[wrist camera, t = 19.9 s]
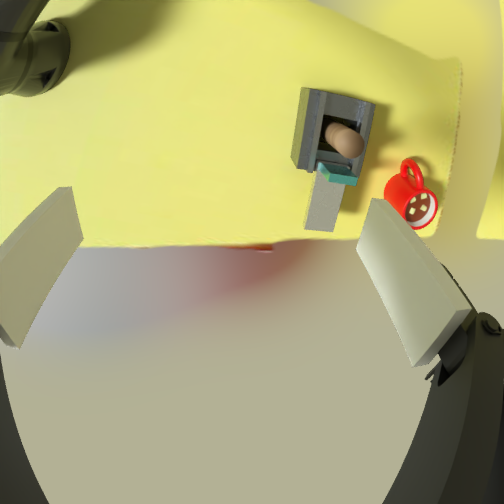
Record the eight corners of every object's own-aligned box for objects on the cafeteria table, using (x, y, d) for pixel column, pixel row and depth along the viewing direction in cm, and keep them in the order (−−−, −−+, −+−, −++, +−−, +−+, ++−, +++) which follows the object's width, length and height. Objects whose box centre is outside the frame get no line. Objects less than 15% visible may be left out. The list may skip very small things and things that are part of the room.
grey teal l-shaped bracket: (302, 225, 44) (309, 245, 40) (316, 159, 38) (327, 172, 33) (330, 228, 45) (340, 247, 40) (347, 165, 38) (360, 178, 34)
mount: (290, 157, 44) (298, 171, 38) (301, 87, 37) (311, 89, 31) (346, 165, 45) (361, 180, 39) (360, 100, 38) (379, 105, 32)
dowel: (313, 136, 42) (335, 156, 32) (317, 115, 40) (341, 128, 30) (334, 139, 42) (361, 160, 32) (338, 119, 40) (367, 134, 30)
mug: (415, 149, 43) (439, 163, 36) (417, 205, 49) (437, 224, 43) (380, 156, 44) (400, 171, 37) (384, 213, 50) (402, 234, 44)
